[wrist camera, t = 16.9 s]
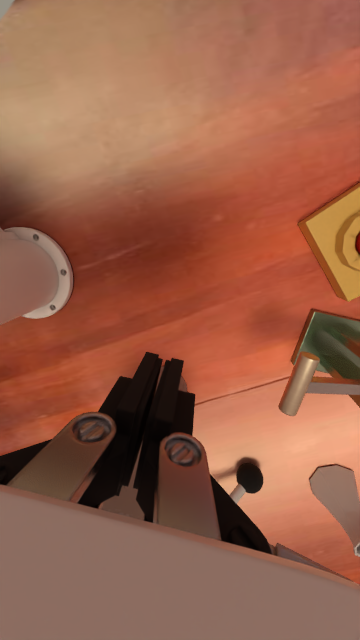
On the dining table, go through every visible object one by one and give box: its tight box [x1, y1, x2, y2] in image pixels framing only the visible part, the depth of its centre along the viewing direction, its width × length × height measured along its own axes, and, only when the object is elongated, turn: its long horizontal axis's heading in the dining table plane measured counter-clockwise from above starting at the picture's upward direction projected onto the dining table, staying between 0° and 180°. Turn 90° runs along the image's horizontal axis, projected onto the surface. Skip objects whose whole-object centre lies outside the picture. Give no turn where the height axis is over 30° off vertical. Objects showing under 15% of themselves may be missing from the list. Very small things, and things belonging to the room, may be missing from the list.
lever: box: [278, 352, 360, 416], centre depth 24 cm, size 13×6×2 cm, turn 79°
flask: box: [310, 465, 360, 556], centre depth 38 cm, size 7×7×10 cm
